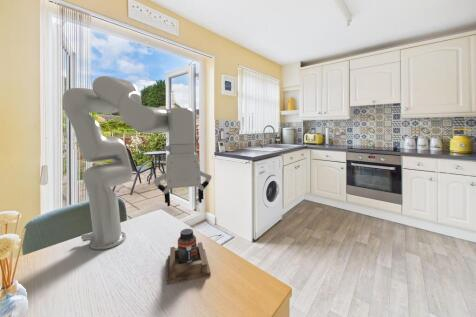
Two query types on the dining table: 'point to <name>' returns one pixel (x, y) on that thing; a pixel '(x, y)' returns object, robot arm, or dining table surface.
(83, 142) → the robot arm
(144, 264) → the dining table surface
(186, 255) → the supplement bottle
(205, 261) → the can holder
